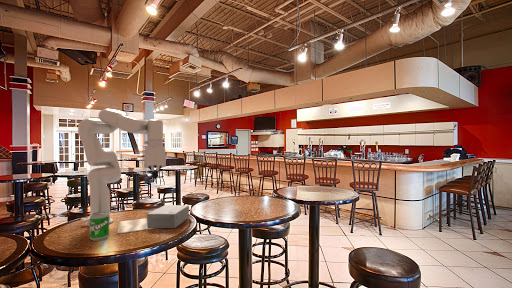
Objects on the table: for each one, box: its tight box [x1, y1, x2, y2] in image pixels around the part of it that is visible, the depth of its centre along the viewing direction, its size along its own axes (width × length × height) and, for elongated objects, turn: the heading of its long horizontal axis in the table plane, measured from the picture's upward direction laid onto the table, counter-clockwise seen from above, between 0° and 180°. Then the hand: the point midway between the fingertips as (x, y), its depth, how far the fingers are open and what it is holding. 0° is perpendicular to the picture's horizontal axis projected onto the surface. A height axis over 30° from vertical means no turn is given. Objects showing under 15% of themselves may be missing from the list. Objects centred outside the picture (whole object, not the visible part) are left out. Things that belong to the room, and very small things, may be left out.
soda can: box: [89, 212, 110, 242], centre depth 116 cm, size 8×8×12 cm
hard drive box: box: [146, 204, 190, 229], centre depth 138 cm, size 16×8×20 cm
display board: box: [116, 217, 157, 235], centre depth 138 cm, size 28×22×1 cm
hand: (155, 178), depth 128 cm, fingers closed
